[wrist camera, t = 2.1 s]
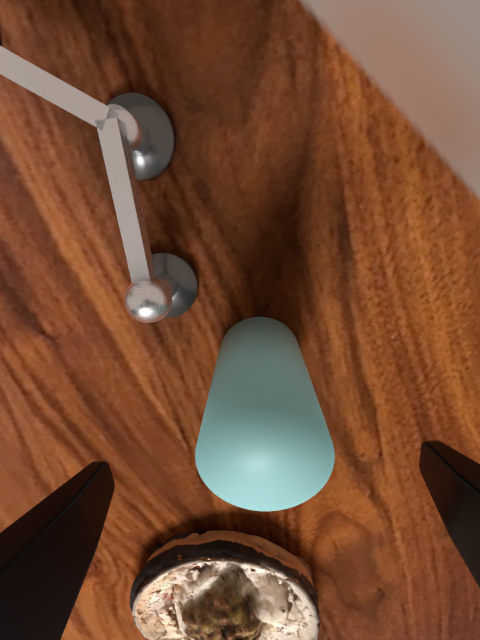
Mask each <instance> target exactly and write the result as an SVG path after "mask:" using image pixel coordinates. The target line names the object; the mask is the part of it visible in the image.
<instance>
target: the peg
mask: <svg viewBox="0 0 480 640" xmlns="http://www.w3.org/2000/svg"><path fill="white" fill-rule="evenodd" d="M195 458H196V465H197V469H198V472H199V474H200V476H201V478H202V480H203V481H204V483H205V484H206V485H207V486H208V488H209V489H210V490H211V491H212V492H213V493H214V494H216V495H217V496H218V497H220V498H221V499H223V500H225V501H226V502H228V503H230V504H233V505H235V506H238V507H241V508H244V509H249V510H255V511H277V510H282V509H287V508H290V507H294V506H296V505H299V504H301V503H303V502H305V501H307V500H308V499H310V498H311V497H313V496H314V495H315V494H316V493H318V492H319V491H320V490H321V489H322V487H323V486H324V485H325V484H326V482H327V481H328V479H329V477H330V475H331V473H332V470H333V466H334V459H335V453H334V446H333V443H332V439H331V437H330V434H329V431H328V428H327V425H326V422H325V419H324V416H323V414H322V411H321V408H320V405H319V402H318V399H317V396H316V393H315V390H314V388H313V385H312V382H311V379H310V376H309V373H308V370H307V367H306V365H305V362H304V359H303V356H302V353H301V350H300V347H299V344H298V341H297V339H296V337H295V335H294V334H293V332H292V331H291V330H290V329H289V328H288V327H287V326H286V325H284V324H283V323H281V322H279V321H278V320H275V319H272V318H268V317H251V318H247V319H244V320H242V321H240V322H238V323H236V324H235V325H234V326H232V327H231V328H230V329H229V330H228V331H227V333H226V334H225V336H224V338H223V340H222V342H221V346H220V350H219V354H218V358H217V362H216V366H215V370H214V375H213V379H212V383H211V387H210V391H209V395H208V400H207V404H206V408H205V412H204V416H203V420H202V424H201V429H200V433H199V437H198V441H197V445H196V452H195Z"/></svg>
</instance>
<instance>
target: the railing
mask: <svg viewBox="0 0 480 640" xmlns="http://www.w3.org/2000/svg"><path fill="white" fill-rule="evenodd" d="M0 74H1V75H3V76H5V77H6V78H8V79H10V80H12V81H14V82H15V83H17V84H19V85H21V86H23V87H24V88H26V89H28V90H30V91H32V92H34V93H35V94H37V95H39V96H41V97H43V98H44V99H46V100H48V101H50V102H52V103H53V104H55V105H57V106H59V107H61V108H63V109H64V110H66V111H68V112H70V113H72V114H73V115H75V116H77V117H79V118H81V119H82V120H84V121H86V122H88V123H90V124H91V125H93V126H95V127H97V131H98V141H99V145H100V148H101V151H102V153H103V157H104V161H105V166H106V170H107V175H108V179H109V183H110V188H111V192H112V197H113V201H114V205H115V210H116V214H117V219H118V223H119V227H120V232H121V236H122V241H123V245H124V249H125V254H126V258H127V263H128V267H129V271H130V276H131V280H132V282H131V283H130V284H129V286H128V287H127V289H126V291H125V294H124V304H125V308H126V310H127V311H128V313H129V314H130V315H131V316H132V317H133V318H134V319H136V320H138V321H140V322H144V323H153V322H157V321H159V320H161V319H163V318H164V317H165V318H170V317H176V316H179V315H181V314H183V313H184V312H186V311H187V310H188V309H189V308H190V307H191V306H192V304H193V303H194V301H195V299H196V297H197V294H198V279H197V276H196V273H195V271H194V269H193V268H192V266H191V265H190V264H189V263H188V262H187V261H186V260H185V259H184V258H182V257H180V256H178V255H176V254H173V253H169V252H159V253H155V254H151V249H150V244H149V239H148V234H147V229H146V224H145V219H144V214H143V209H142V204H141V199H140V194H139V189H138V184H137V180H142V181H143V180H151V179H154V178H156V177H158V176H160V175H161V174H162V173H163V172H164V171H165V170H166V169H167V168H168V167H169V165H170V164H171V162H172V159H173V157H174V153H175V147H176V138H175V132H174V128H173V125H172V123H171V121H170V119H169V117H168V115H167V114H166V113H165V111H164V110H163V109H162V108H161V107H160V106H159V105H158V104H157V103H156V102H155V101H154V100H152V99H151V98H149V97H147V96H145V95H142V94H139V93H125V94H121V95H119V96H117V97H115V98H113V99H112V100H111V101H110V102H109V103H108V104H107V105H104V104H103V103H101V102H99V101H97V100H95V99H94V98H92V97H90V96H88V95H87V94H85V93H83V92H81V91H80V90H78V89H76V88H74V87H72V86H71V85H69V84H67V83H65V82H64V81H62V80H60V79H58V78H56V77H55V76H53V75H51V74H49V73H48V72H46V71H44V70H42V69H40V68H39V67H37V66H35V65H33V64H32V63H30V62H28V61H26V60H24V59H23V58H21V57H19V56H17V55H16V54H14V53H12V52H10V51H8V50H7V49H5V48H3V47H2V46H1V40H0Z"/></svg>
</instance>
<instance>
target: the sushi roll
mask: <svg viewBox="0 0 480 640" xmlns="http://www.w3.org/2000/svg"><path fill="white" fill-rule="evenodd" d="M312 581H313V578H312V572H311V570H310V567H309V565H308V564H307V563H306V562H305V561H304V560H303V558H301V557H297V556H294V555H292V554H290V553H289V552H288V551H286V550H284V549H283V548H281V547H279V546H278V545H276V544H273V543H271V542H269V540H266V539H263V538H261V537H258V536H254V535H248V534H244V533H241V532H235V531H225V530H223V531H217V530H216V531H207V532H206V533H204V534H202V535H199V533H192V532H186V533H181V534H178V535H176V536H173V537H171V538H170V539H169V540H168V541H167V543H165V544H163V545H158V546H157V547H155V548H154V549H152V550H151V555H150V556H148V561H147V562H146V564H145V565H144V567H143V568H142V570H141V571H140V572H139V574H138V575H137V577H136V579H135V580H134V583H133V585H132V588H131V593H130V608H131V611H132V615H133V616H134V617H135V618H134V622H135V625H136V626H137V627H138V629H139V630H140V632H141V633H142V634H143V636H144V637H146V638H148V639H150V640H318V631H319V627H320V624H319V621H320V619H319V614H320V612H319V610H318V597H317V594H316V591H315V588H314V585H313V582H312ZM133 624H134V623H133Z"/></svg>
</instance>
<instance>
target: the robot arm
mask: <svg viewBox="0 0 480 640" xmlns="http://www.w3.org/2000/svg"><path fill="white" fill-rule="evenodd" d="M419 467H420V471H421V474H422V476H423V479H424V481H425V483H426V485H427V488H428V490H429V492H430V494H431V496H432V499H433V501H434V503H435V505H436V507H437V510H438V512H439V514H440V516H441V518H442V521H443V523H444V525H445V527H446V529H447V531H448V533H449V535H450V537H451V539H452V540H453V542H454V544H455V546H456V548H457V549H458V551H459V553H460V555H461V556H462V558H463V560H464V562H465V563H466V565H467V567H468V569H469V570H470V572H471V574H472V576H473V577H474V579H475V581H476V583H477V584H478V586H479V588H480V464H478V463H477V462H475V461H473V460H472V459H470V458H468V457H467V456H465V455H463V454H461V453H460V452H458V451H456V450H455V449H453V448H451V447H449V446H448V445H446V444H444V443H443V442H441V441H438V440H433V441H424V442H422V444H421V452H420V462H419ZM114 487H115V484H114V479H113V476H112V473H111V469H110V466H109V464H108V462H107V461H95V462H92V463H90V464H89V465H88V466H86V467H85V468H84V469H83V470H81V471H80V472H79V473H77V474H76V475H75V476H73V477H72V478H71V479H70V480H68V481H67V482H66V483H64V484H63V485H62V486H61V487H59V488H58V489H57V490H55V491H54V492H53V493H51V494H50V495H49V496H48V497H46V498H45V499H44V500H42V501H41V502H40V503H38V504H37V505H36V506H35V507H33V508H32V509H31V510H29V511H28V512H27V513H26V514H24V515H23V516H22V517H20V518H19V519H18V520H16V521H15V522H14V523H13V524H11V525H10V526H9V527H7V528H6V529H5V530H3V531H2V532H1V533H0V640H60V639H61V637H62V634H63V632H64V629H65V627H66V624H67V622H68V619H69V617H70V614H71V612H72V609H73V607H74V604H75V602H76V599H77V597H78V594H79V592H80V589H81V587H82V584H83V582H84V579H85V577H86V574H87V572H88V569H89V567H90V564H91V562H92V559H93V556H94V554H95V551H96V548H97V546H98V543H99V539H100V536H101V533H102V530H103V526H104V523H105V519H106V516H107V513H108V509H109V506H110V503H111V499H112V496H113V492H114Z"/></svg>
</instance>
